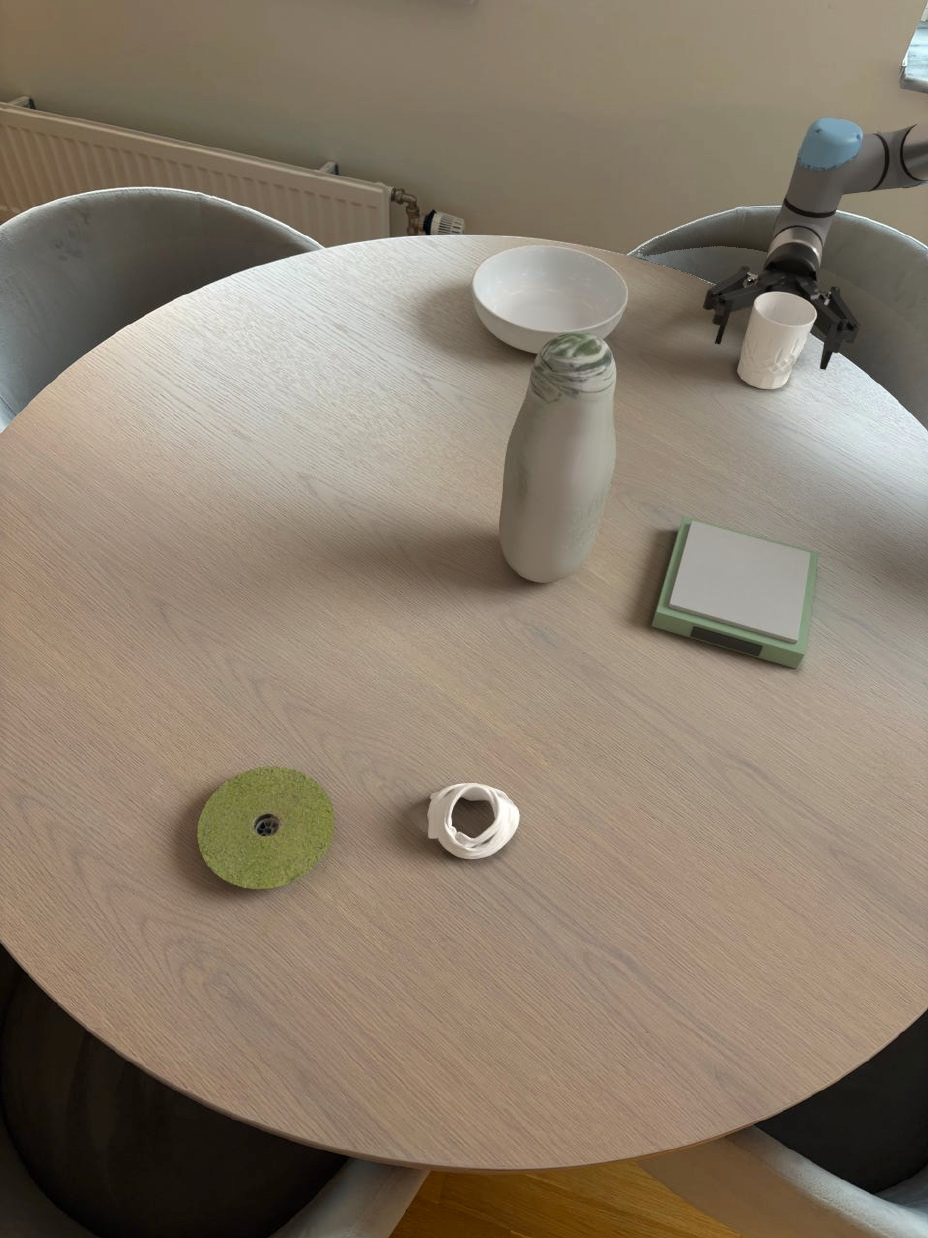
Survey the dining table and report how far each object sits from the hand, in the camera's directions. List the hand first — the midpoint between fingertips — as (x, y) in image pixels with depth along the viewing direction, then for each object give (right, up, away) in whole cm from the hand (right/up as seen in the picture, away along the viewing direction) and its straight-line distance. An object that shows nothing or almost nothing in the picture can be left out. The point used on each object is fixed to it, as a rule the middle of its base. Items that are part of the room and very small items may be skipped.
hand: (772, 347), depth 121 cm
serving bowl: (-28, +5, +10) cm, 31 cm away
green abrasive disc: (-56, -53, -41) cm, 87 cm away
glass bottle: (-31, -29, -19) cm, 47 cm away
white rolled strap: (-39, -53, -39) cm, 76 cm away
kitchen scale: (-11, -32, -20) cm, 39 cm away
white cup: (0, -2, +6) cm, 7 cm away
